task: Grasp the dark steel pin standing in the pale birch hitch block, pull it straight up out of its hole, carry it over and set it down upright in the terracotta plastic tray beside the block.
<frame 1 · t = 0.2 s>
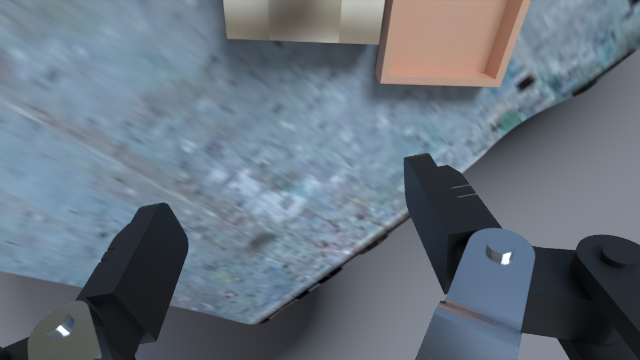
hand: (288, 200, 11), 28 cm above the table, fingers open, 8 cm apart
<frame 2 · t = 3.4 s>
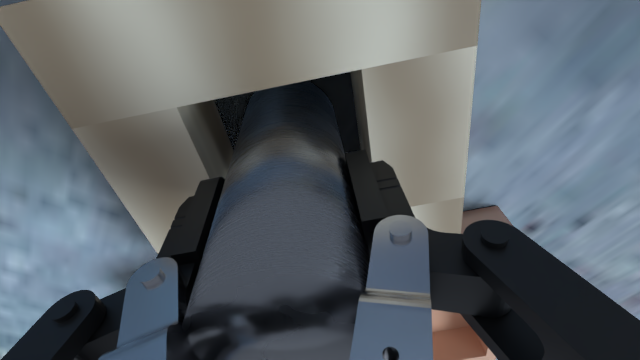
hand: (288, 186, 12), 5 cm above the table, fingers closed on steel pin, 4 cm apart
tray: (336, 298, 25), on the table
steel pin: (289, 189, 12), in the hitch block, touching gripper
hitch block: (290, 122, 16), on the table
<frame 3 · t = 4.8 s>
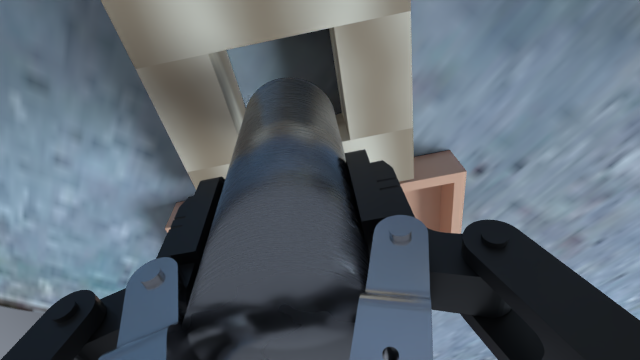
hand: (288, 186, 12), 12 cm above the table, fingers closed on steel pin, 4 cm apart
tray: (324, 234, 30), on the table
steel pin: (289, 188, 12), point 12 cm above the table, touching gripper
hitch block: (286, 77, 22), on the table
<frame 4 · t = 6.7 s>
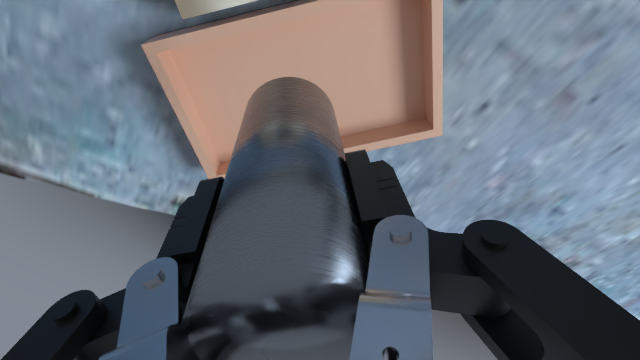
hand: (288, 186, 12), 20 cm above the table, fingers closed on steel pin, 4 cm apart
tray: (306, 82, 30), on the table
steel pin: (289, 188, 12), point 20 cm above the table, touching gripper
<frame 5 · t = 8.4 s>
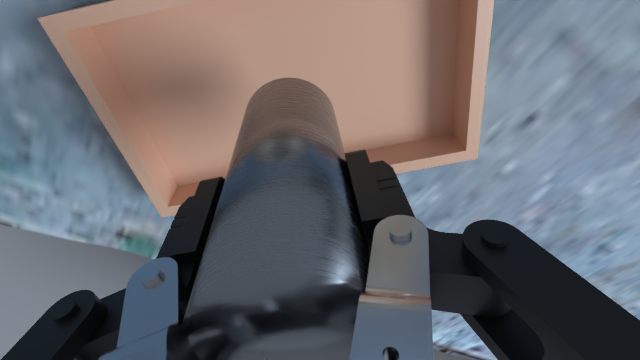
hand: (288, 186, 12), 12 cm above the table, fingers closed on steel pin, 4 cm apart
tray: (293, 82, 21), on the table
steel pin: (289, 189, 12), point 12 cm above the table, touching gripper
when the fingers open (7 cm above the table, at t = 10.0 s): steel pin drops 1 cm, resting on tray.
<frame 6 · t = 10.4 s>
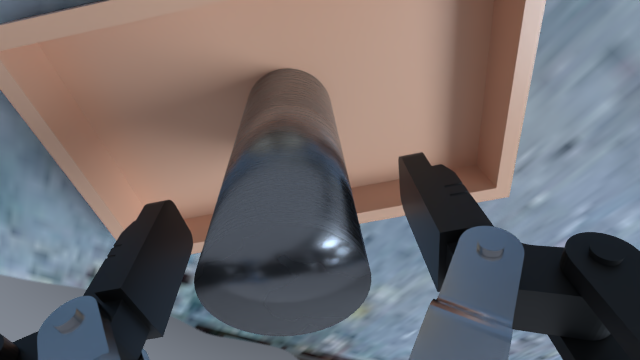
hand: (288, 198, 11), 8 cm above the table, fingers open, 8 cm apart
tray: (290, 106, 18), on the table
steel pin: (288, 168, 13), in the tray, point 6 cm above the table
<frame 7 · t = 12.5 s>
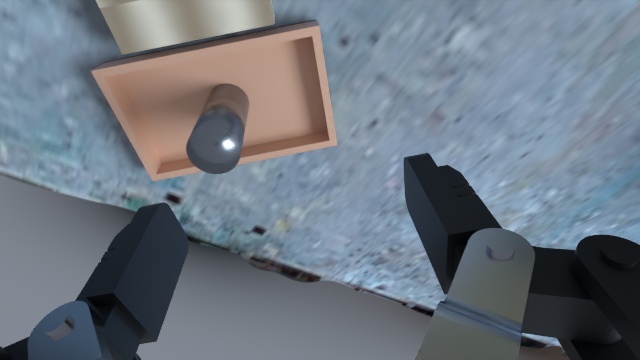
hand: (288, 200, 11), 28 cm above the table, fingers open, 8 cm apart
tray: (230, 101, 37), on the table
steel pin: (222, 124, 32), in the tray, point 6 cm above the table
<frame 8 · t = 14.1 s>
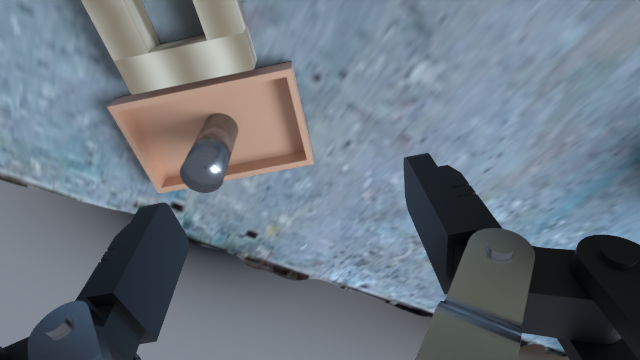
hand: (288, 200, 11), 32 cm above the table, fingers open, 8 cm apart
tray: (222, 127, 44), on the table
steel pin: (212, 149, 39), in the tray, point 6 cm above the table
hitch block: (175, 7, 36), on the table
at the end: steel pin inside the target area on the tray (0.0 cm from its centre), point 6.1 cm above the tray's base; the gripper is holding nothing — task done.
